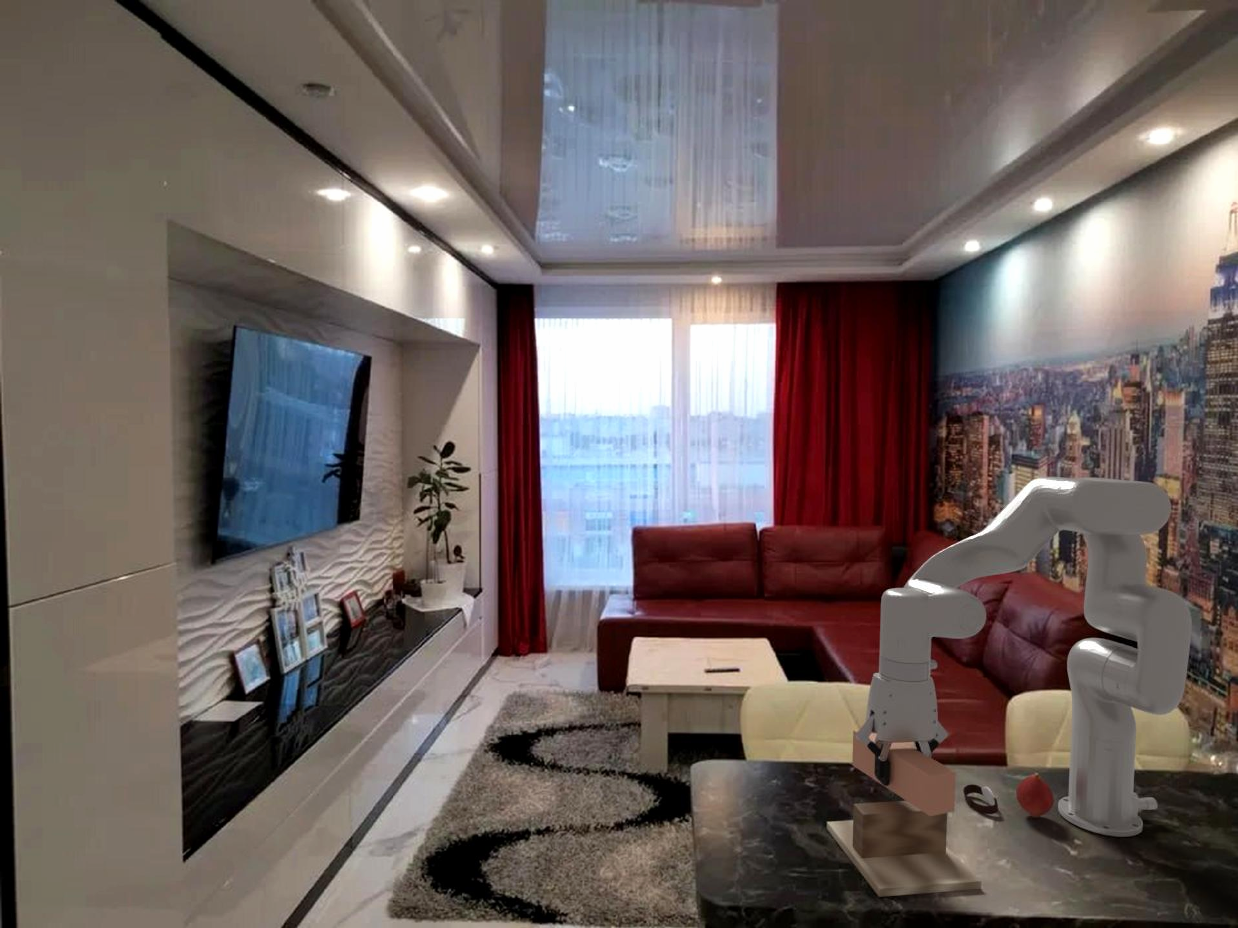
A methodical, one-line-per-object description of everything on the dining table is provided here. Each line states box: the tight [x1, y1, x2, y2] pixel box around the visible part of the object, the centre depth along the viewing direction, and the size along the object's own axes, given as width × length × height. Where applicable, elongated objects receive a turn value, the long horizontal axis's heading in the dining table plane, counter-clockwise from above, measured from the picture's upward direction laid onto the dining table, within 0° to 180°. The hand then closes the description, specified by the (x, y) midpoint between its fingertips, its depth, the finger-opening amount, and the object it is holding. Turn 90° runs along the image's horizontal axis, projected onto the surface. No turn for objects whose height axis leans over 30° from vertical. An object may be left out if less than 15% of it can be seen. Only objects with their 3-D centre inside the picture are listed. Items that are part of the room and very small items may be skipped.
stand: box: [826, 800, 982, 898], centre depth 123 cm, size 16×19×8 cm
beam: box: [851, 728, 956, 816], centre depth 122 cm, size 4×18×6 cm, turn 21°
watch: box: [962, 784, 999, 815], centre depth 140 cm, size 8×5×4 cm, turn 8°
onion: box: [1015, 772, 1055, 819], centre depth 136 cm, size 6×6×8 cm
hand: (900, 779), depth 122 cm, fingers closed on beam, 5 cm apart
